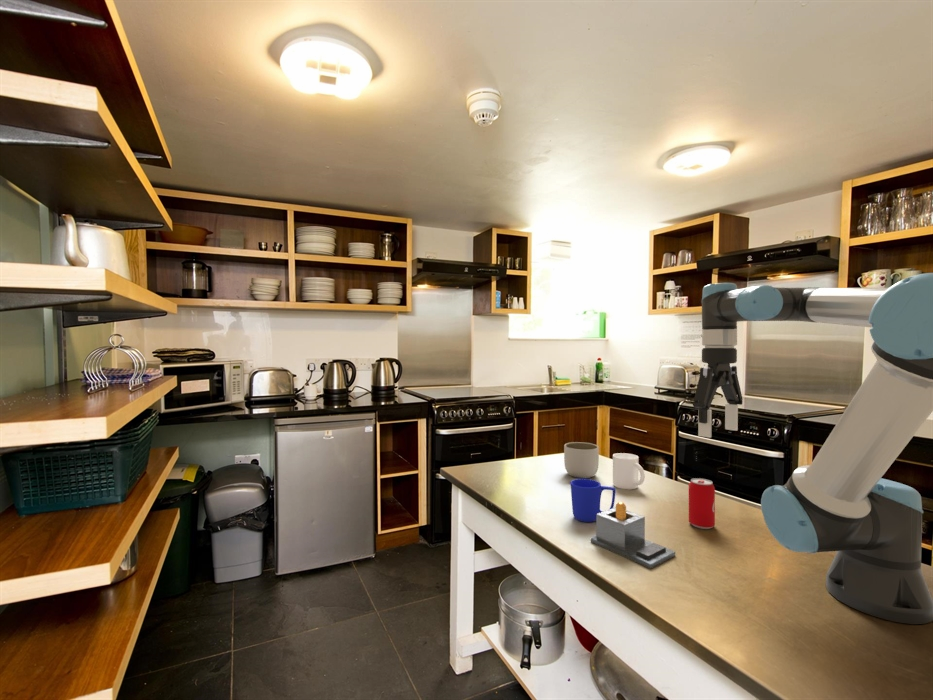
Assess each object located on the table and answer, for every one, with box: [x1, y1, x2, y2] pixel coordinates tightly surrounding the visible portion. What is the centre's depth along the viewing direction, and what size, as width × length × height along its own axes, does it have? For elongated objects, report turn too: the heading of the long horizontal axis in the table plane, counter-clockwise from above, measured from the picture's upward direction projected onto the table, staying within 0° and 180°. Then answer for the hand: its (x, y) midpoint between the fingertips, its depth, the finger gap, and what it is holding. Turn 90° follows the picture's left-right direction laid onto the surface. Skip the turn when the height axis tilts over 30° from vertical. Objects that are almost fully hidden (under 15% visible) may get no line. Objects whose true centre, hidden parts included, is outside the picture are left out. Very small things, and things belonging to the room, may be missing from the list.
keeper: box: [590, 501, 676, 570], centre depth 106 cm, size 16×10×10 cm, turn 36°
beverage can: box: [688, 477, 716, 530], centre depth 119 cm, size 6×6×12 cm
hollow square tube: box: [595, 506, 646, 551], centre depth 109 cm, size 8×8×6 cm
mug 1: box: [570, 478, 616, 523], centre depth 124 cm, size 8×12×10 cm
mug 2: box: [612, 452, 646, 491], centre depth 151 cm, size 12×8×10 cm
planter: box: [563, 441, 600, 479], centre depth 165 cm, size 12×12×11 cm
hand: (718, 433), depth 110 cm, fingers open, 13 cm apart
